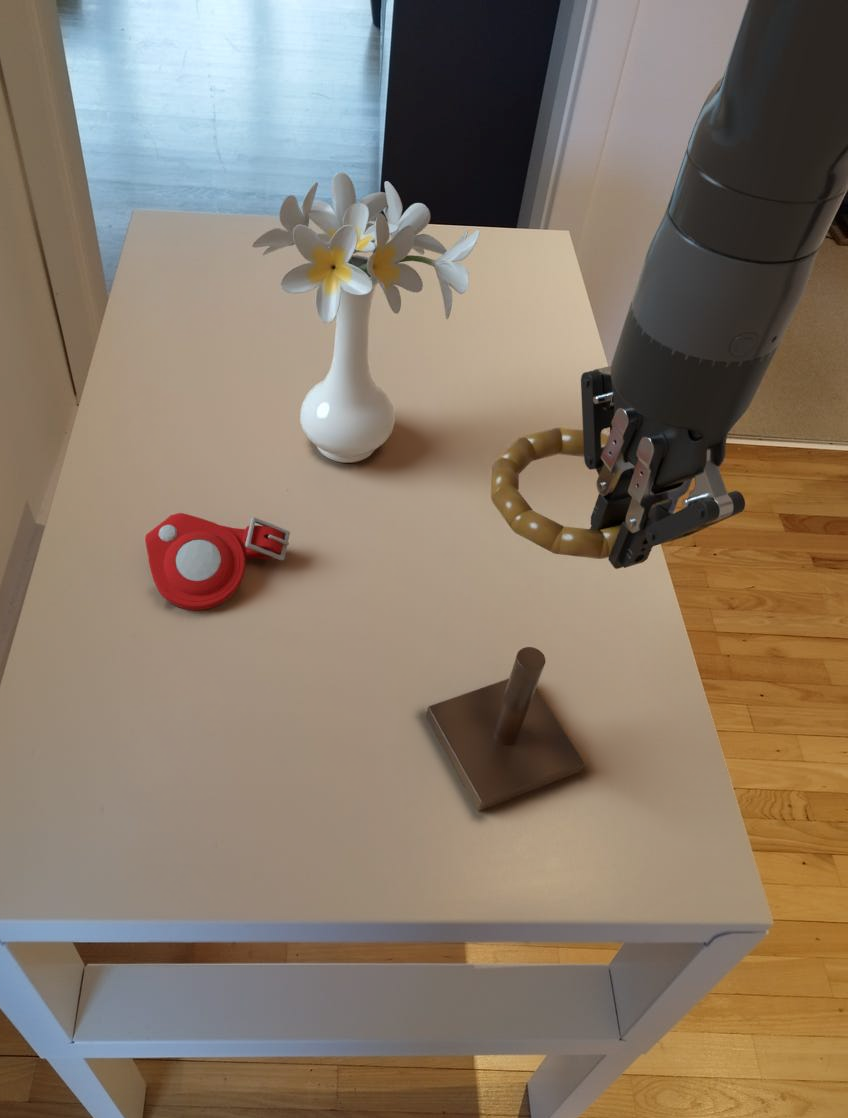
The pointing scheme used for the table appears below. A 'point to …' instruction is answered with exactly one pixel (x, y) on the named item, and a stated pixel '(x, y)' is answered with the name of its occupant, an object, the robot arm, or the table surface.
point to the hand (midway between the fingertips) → (613, 548)
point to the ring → (532, 522)
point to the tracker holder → (207, 557)
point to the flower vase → (357, 300)
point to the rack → (505, 736)
